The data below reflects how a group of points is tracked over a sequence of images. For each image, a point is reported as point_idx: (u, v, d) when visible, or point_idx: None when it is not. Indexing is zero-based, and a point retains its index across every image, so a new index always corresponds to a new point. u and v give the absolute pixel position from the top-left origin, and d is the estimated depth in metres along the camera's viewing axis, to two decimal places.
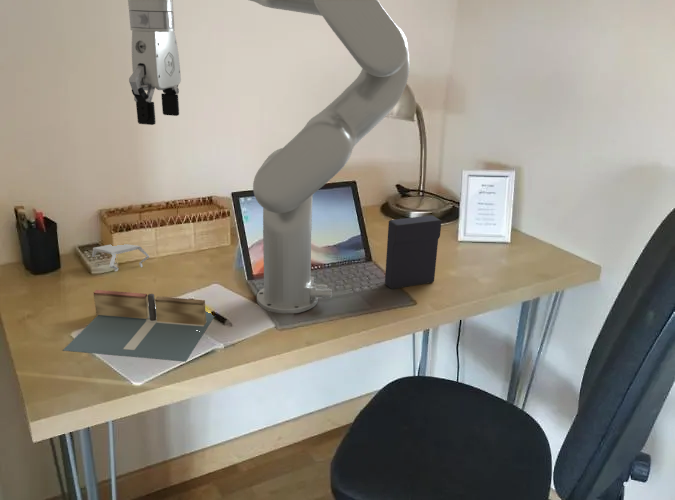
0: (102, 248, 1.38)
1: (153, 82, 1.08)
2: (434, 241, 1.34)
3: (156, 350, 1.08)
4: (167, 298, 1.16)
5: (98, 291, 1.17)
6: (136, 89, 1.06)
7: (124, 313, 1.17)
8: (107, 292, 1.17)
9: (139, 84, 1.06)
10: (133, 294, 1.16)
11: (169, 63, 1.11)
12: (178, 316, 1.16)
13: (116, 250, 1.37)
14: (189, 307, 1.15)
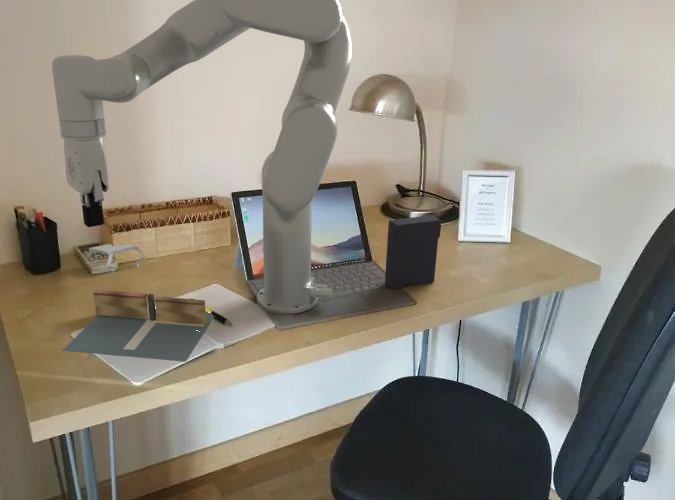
0: (98, 248, 1.38)
1: None
2: (434, 241, 1.34)
3: (156, 350, 1.08)
4: (167, 298, 1.16)
5: (98, 291, 1.17)
6: None
7: (124, 313, 1.17)
8: (107, 292, 1.17)
9: None
10: (133, 294, 1.16)
11: (71, 167, 1.11)
12: (178, 316, 1.16)
13: (113, 250, 1.37)
14: (189, 307, 1.15)
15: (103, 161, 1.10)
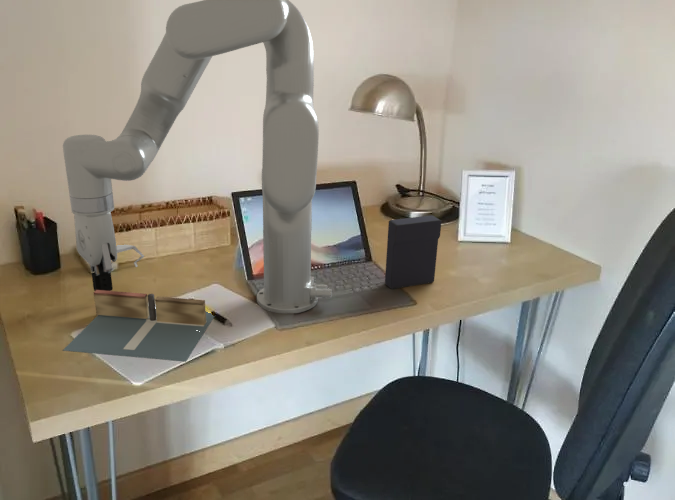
0: None
1: None
2: (434, 241, 1.34)
3: (156, 350, 1.08)
4: (167, 298, 1.16)
5: (98, 291, 1.17)
6: None
7: (124, 313, 1.17)
8: (107, 292, 1.17)
9: None
10: (133, 294, 1.16)
11: (81, 239, 1.17)
12: (178, 316, 1.16)
13: None
14: (189, 307, 1.15)
15: (112, 234, 1.15)
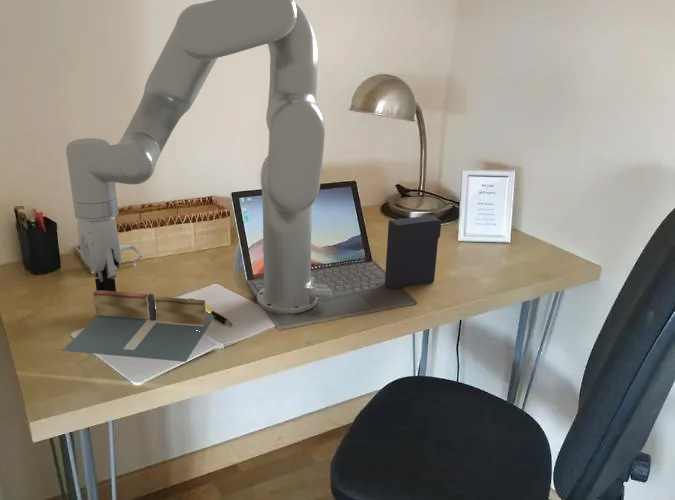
0: None
1: None
2: (434, 241, 1.34)
3: (156, 350, 1.08)
4: (167, 298, 1.16)
5: (98, 291, 1.17)
6: None
7: (124, 313, 1.17)
8: (107, 292, 1.16)
9: None
10: (133, 294, 1.16)
11: (85, 245, 1.14)
12: (178, 316, 1.16)
13: None
14: (189, 307, 1.15)
15: (116, 240, 1.13)
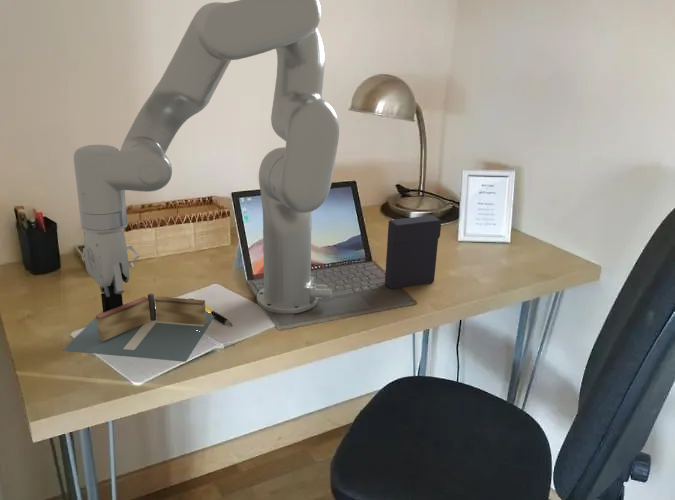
0: None
1: None
2: (434, 241, 1.34)
3: (156, 350, 1.08)
4: (167, 298, 1.16)
5: (101, 315, 1.08)
6: None
7: (130, 325, 1.13)
8: (111, 311, 1.10)
9: None
10: (135, 301, 1.13)
11: (91, 258, 1.07)
12: (178, 316, 1.16)
13: None
14: (189, 307, 1.15)
15: (124, 253, 1.06)
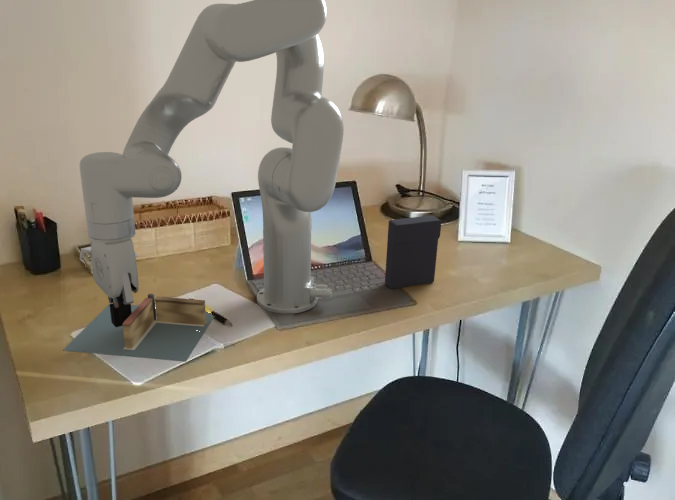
0: (90, 248, 1.38)
1: None
2: (434, 241, 1.34)
3: (156, 350, 1.08)
4: (167, 298, 1.16)
5: (127, 321, 1.06)
6: None
7: (144, 328, 1.12)
8: (132, 316, 1.08)
9: None
10: (144, 303, 1.13)
11: (99, 268, 1.05)
12: (178, 316, 1.16)
13: None
14: (189, 307, 1.15)
15: (133, 263, 1.03)
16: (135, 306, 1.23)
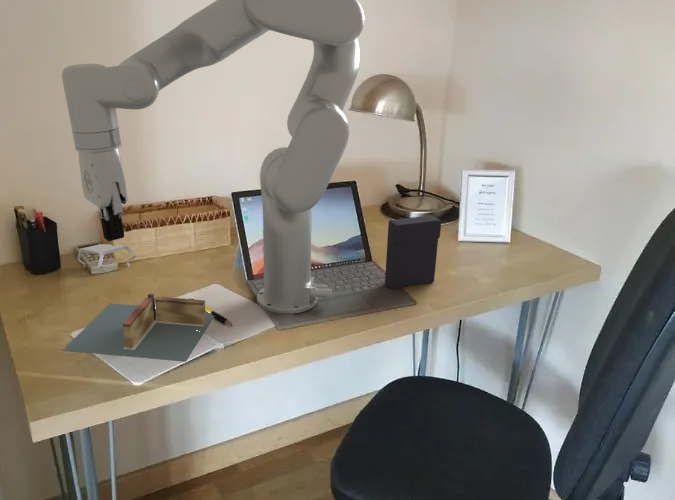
0: (89, 249, 1.38)
1: None
2: (434, 241, 1.34)
3: (156, 350, 1.08)
4: (167, 298, 1.16)
5: (128, 321, 1.06)
6: None
7: (144, 328, 1.12)
8: (133, 316, 1.08)
9: None
10: (144, 303, 1.13)
11: (88, 181, 1.07)
12: (178, 316, 1.16)
13: (103, 250, 1.37)
14: (189, 307, 1.15)
15: (120, 172, 1.06)
16: (135, 306, 1.23)
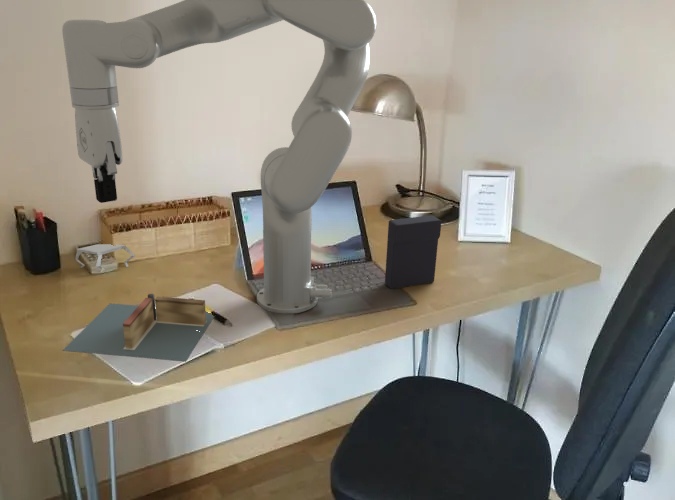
0: (87, 249, 1.38)
1: None
2: (434, 241, 1.34)
3: (156, 350, 1.08)
4: (167, 298, 1.16)
5: (128, 321, 1.06)
6: None
7: (144, 328, 1.12)
8: (133, 316, 1.08)
9: None
10: (144, 303, 1.13)
11: (83, 139, 1.06)
12: (178, 316, 1.16)
13: (101, 250, 1.37)
14: (189, 307, 1.15)
15: (116, 132, 1.04)
16: (135, 306, 1.23)
